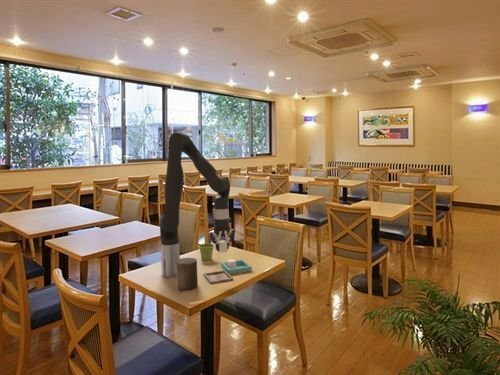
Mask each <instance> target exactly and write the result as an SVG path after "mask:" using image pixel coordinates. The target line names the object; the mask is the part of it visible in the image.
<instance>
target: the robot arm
mask: <svg viewBox="0 0 500 375" xmlns="http://www.w3.org/2000/svg"><path fill="white" fill-rule="evenodd" d="M167 145H168V146H167V147H168V148H167V151H168V152H167V166H166V174H165V175H166V176H165V182H164V201H165V203H164V211H163V214H162V215H161V216H160V218H159V232H160V242H161V244H160V245H161V246H160V247H161V256H160V257H161V258H160V260H161V274H162V277H163V278H175V277H177V262H176V261H177V260H179V259H181V256H180V255H181V254H180V238H179V237H180V236H179V229H178V228H179V225H180V205H181V200H182V195H183V189H184V181H185V174H184V171H183V170H184V169H183V165H182V155H183V154H185V155H186V156H188V158H189V159H190V160H191V161H192V163H193V165H194V167H195V169H196V171H198V173H199V174H201V176H202V177H203V178H204V180H206V183H207V184H208V186H209V187H210V189H211V190H212V191H213V192H215V193H217V194H216V196H215V197H214V199H213V209H214V210H213V224H214V225H213V226H214V228H213V230H211V231H208V235H209V238H210V240H211V243H212V244H214V246H215V250H216V251H217V252H218V251H219V241H221V238H224V240H225V241H226V242H227V251H228V250H229V248H230V243H231V242H233V239H234V237H235V232H236V230H235V229H234V228H230V211H229V198H230V192H231V182H230V180H229V179H228V178H227V177H225V176H221V177H219V176H218V175H217V169H216V168H215V167H214V166H213V164H211V163H210V161H208V160H207V158H205V156H204V155H203V154H202V153H201V152H200V151H199V149H198V147H197V146H196V145H195V143H194V142H193V140H192V139H191V138H190V136H189V135H188V134H186V133H182V132H179V131H175V132H172V134H170V136H169V138H168V142H167ZM182 153H183V154H182ZM229 233H230V234H229ZM214 235H215V238H214Z"/></svg>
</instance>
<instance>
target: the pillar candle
mask: <svg viewBox="0 0 500 375" xmlns="http://www.w3.org/2000/svg"><path fill="white" fill-rule="evenodd" d="M176 262H177V275H176V281H177V282H176V283H177V290H178V291H180V292H186V291H187V292H188V291H192V290H196V289H197V288H198V287H199V286H198V261H197V258H195V257H182V258H180V259H179V260H177V261H176Z"/></svg>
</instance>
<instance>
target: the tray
mask: <svg viewBox="0 0 500 375" xmlns="http://www.w3.org/2000/svg"><path fill="white" fill-rule="evenodd" d="M202 274H203V277H204V278H205V279H206V280H207V281H208V283H209V284H210V285H213V284H217V283H223V282H224V283H225V282H229V281H233V280H234V278H233V276H232V274H229V273H228V272H227V271H226V270H224V269H222V270H215V271H211V272H203V273H202Z"/></svg>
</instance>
